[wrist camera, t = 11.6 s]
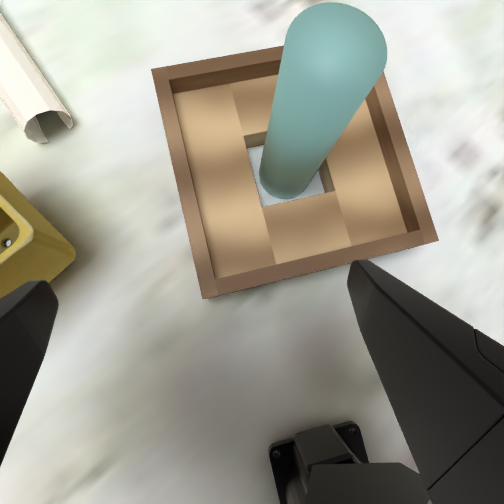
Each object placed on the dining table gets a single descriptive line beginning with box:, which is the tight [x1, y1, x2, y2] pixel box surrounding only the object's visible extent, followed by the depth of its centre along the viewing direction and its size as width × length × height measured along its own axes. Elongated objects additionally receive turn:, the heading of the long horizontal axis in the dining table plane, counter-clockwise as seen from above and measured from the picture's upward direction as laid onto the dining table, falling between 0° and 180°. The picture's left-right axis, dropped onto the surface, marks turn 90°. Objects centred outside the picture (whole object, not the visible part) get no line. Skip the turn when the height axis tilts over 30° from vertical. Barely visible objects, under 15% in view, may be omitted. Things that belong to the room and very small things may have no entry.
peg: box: [259, 3, 387, 199], centre depth 18 cm, size 4×4×12 cm
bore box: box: [151, 46, 439, 299], centre depth 22 cm, size 16×16×4 cm
